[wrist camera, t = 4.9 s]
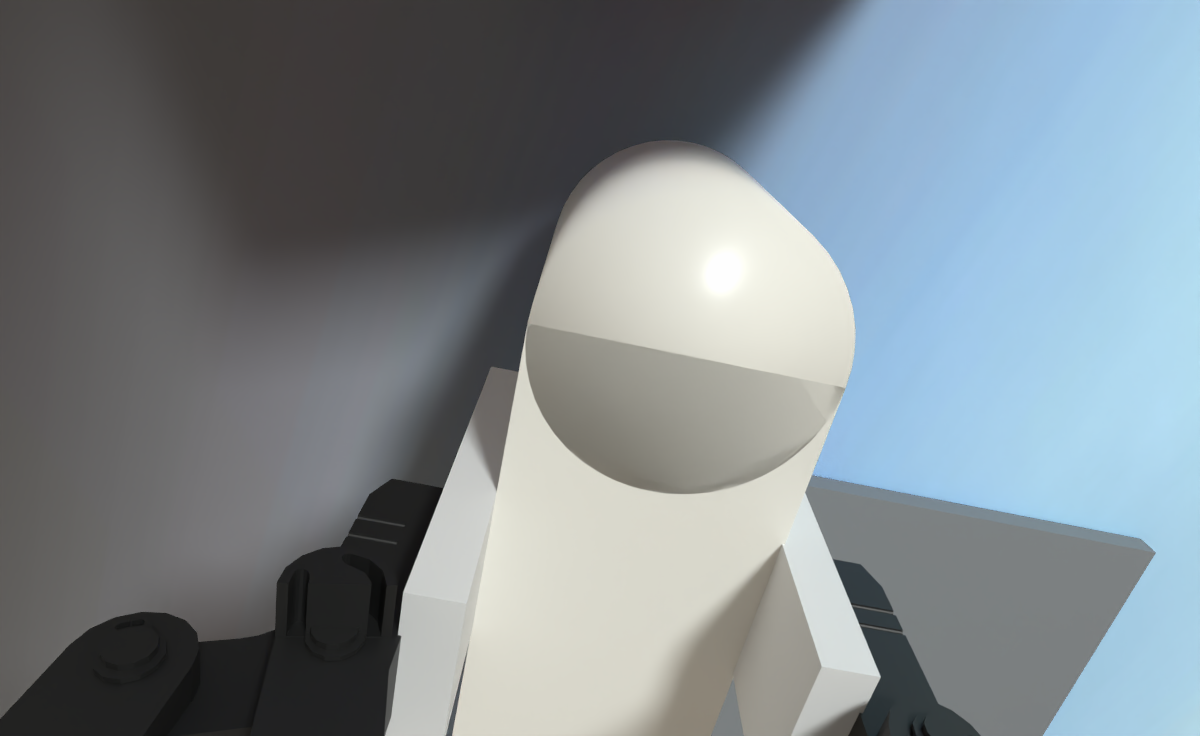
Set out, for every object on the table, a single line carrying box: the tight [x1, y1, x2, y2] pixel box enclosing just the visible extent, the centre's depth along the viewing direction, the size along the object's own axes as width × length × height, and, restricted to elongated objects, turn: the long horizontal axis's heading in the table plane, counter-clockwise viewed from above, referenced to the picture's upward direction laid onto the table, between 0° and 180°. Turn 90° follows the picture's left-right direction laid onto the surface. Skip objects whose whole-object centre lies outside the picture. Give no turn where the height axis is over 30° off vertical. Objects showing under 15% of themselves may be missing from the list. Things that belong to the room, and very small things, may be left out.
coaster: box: [711, 476, 1156, 736], centre depth 22 cm, size 12×12×1 cm
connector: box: [452, 140, 855, 736], centre depth 14 cm, size 13×4×5 cm, turn 168°
